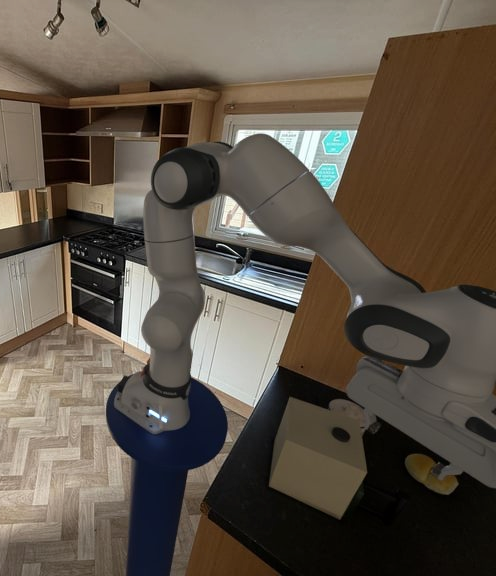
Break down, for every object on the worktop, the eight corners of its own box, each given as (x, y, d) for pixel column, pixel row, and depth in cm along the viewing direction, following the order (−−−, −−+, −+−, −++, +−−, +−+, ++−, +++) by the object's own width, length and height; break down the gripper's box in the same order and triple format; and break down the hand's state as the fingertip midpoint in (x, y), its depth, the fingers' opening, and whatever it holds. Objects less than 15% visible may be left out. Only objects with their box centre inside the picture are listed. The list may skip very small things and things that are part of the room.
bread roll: (412, 454, 80) (419, 443, 78) (459, 485, 73) (467, 474, 71) (395, 467, 77) (402, 456, 75) (442, 501, 70) (451, 491, 68)
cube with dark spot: (336, 465, 77) (360, 417, 70) (339, 519, 66) (369, 469, 59) (274, 440, 84) (290, 394, 76) (268, 486, 73) (286, 437, 65)
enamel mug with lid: (358, 457, 79) (375, 425, 74) (317, 438, 84) (330, 407, 79) (358, 425, 88) (374, 394, 83) (321, 410, 93) (333, 380, 88)
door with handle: (381, 481, 73) (398, 453, 68) (392, 539, 62) (413, 511, 58) (280, 440, 82) (290, 413, 78) (275, 485, 72) (286, 457, 67)
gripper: (352, 356, 54) (328, 413, 60) (533, 453, 37) (475, 518, 43) (373, 346, 56) (348, 402, 62) (551, 433, 40) (494, 497, 46)
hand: (401, 451), depth 53 cm, fingers open, 8 cm apart
